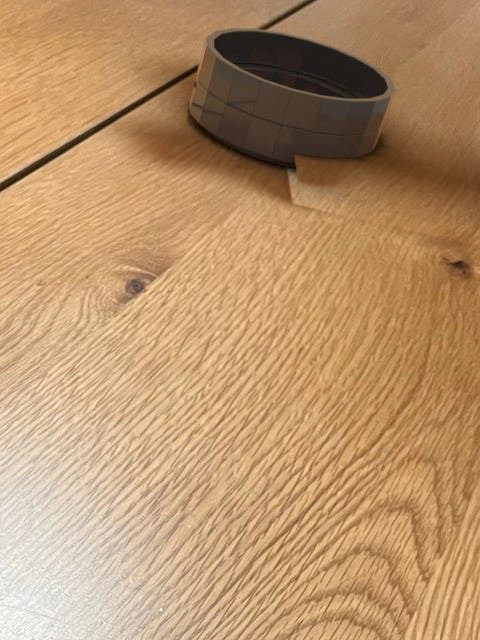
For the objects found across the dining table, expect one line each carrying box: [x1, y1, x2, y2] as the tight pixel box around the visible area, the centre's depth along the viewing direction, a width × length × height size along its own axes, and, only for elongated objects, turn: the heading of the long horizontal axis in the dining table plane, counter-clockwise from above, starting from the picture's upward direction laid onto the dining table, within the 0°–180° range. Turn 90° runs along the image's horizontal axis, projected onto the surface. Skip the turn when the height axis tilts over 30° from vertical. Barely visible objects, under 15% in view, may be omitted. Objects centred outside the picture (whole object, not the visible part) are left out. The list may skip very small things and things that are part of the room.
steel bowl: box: [189, 27, 397, 169], centre depth 94 cm, size 14×14×5 cm
